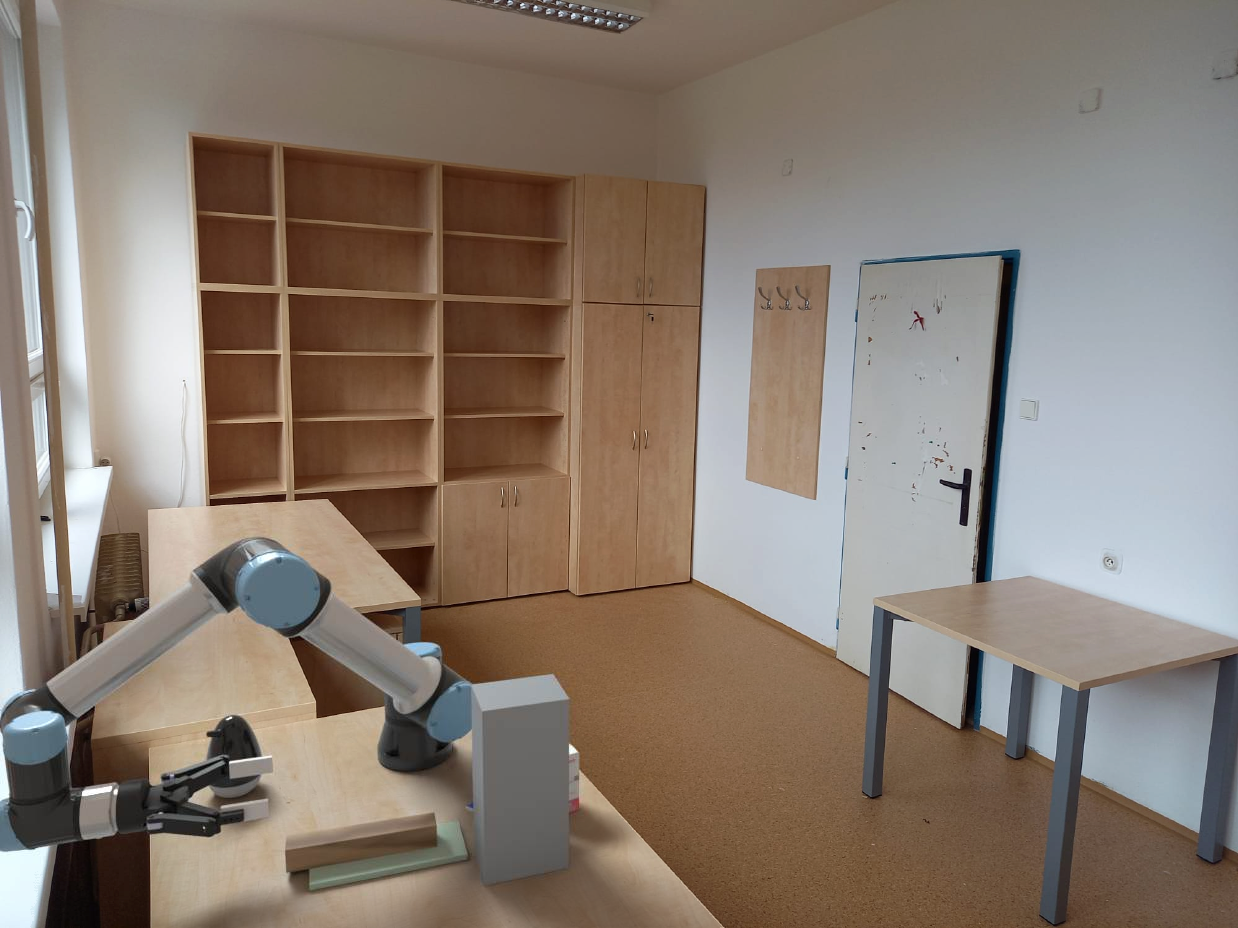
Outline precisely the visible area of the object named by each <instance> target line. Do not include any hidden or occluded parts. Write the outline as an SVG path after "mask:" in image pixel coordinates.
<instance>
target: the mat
mask: <svg viewBox="0 0 1238 928" xmlns="http://www.w3.org/2000/svg"><path fill="white" fill-rule="evenodd" d="M436 824H437V823H436ZM468 854H469V853H468V851H467V847H466V843H465V840H464V836H463V833H462V830H461V826H460V822H459V820H455V821H451V822H450V821H448V822H444V823H438V824H437V847H433V848H427V849H422V850H416V851H410V852H404V853H398V854H393V855H387V856H381V857H375V858H369V859H364V860H358V861H352V862H346V863H341V864H335V865H329V866H323V867H317V868H312V869H308V870H309V871H308V872H309V875H308V876H309V877H308V878H309V883H308V884H309V885H308V886H309V891H316V890H319V889H325V888H330V887H334V886H340V885H345V884H349V883H355V882H361V881H364V880H365V881H366V880H369V879H370V880H371V879H377V878H380V877H381V878H382V877H385V876H390V875H395V874H399V873H405V872H406V873H407V872H411V871H416V870H421V869H426V868H431V867H437V866H441V865H446V864H450V863H451V864H452V863H456V862H461V861H466V860H468V858H469V857H468Z"/></svg>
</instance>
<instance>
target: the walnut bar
mask: <svg viewBox="0 0 1238 928" xmlns="http://www.w3.org/2000/svg"><path fill="white" fill-rule="evenodd" d="M285 837H286V838H285V847H284V855H285V857H284V858H285V860H284V861H285V871H286V873H287V874H288V873H292V872H294V873H295V872H299V871H305V870H309V869H312V868H317V867H323V866H329V865H335V864H341V863H346V862H352V861H358V860H364V859H369V858H375V857H381V856H387V855H393V854H398V853H404V852H410V851H416V850H422V849H427V848H433V847H437V820H436V814H435V812H428V813H421V814H415V815H410V816H403V817H398V818H397V817H395V818H389V819H385V820H384V819H383V820H378V821H372V822H364V823H360V824H354V825H353V824H352V825H347V826H339V827H334V828H328V829H323V830H316V831H310V832H309V831H308V832H303V833H298V834H291V835H286V836H285Z"/></svg>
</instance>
